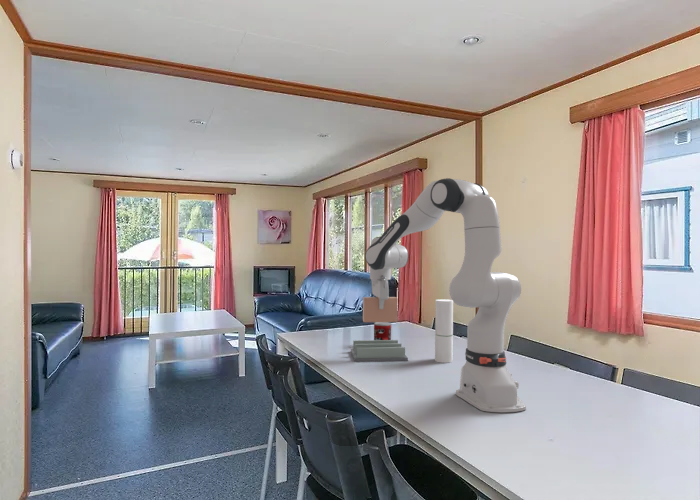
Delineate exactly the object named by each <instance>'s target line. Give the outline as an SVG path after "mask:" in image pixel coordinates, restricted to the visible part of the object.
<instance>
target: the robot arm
mask: <svg viewBox="0 0 700 500" xmlns="http://www.w3.org/2000/svg"><path fill="white" fill-rule="evenodd" d="M497 207H498V206H497V203H496V201H495V200H494V198H493V197H491V196H489V192H488V190H487V189H486V188H485V187H484V185H481V184H479V183H477V182H472V181H471V182H470V181H467V180H464V179H460V178H459V179H458V178H457V179H456V178H448V177H447V178H441V179H439V180H434V181H432V182H430V183H429V184H428V185H427V186H426V187H424V188H423V191H422V192H421V193H420V194H419V195H418V196H417V198H416V199H415V201H414V202H413V203H412V205H411V206H410V207H409V208H408V209H406V211H405V212H403V213H401V214H400V215H399V216H398V217H397V218H395V220H394V221H393V222H392V223H391V224H390V225H389V226H388V227H387V229H386V230H385V231H384V232H383V233H382V234H381V235H380V236H376V237H373V238H372V239H371V244H369V246H368V248H367V249H366V252H365V257H364V258H365V261H366V264H367V265H368V267H369V279H370V280H371V293H372V295H373V296H374V297H378V298H379V309H383V308H384V300H388V298H389V297H390V296H389V294H390V293H389V292H390V291H389V290H390V289H389V286H390V285H389V281H390V280H391V279H392V269H401V268H404V267H405V266H406V265H407V264H408V262H409V257H410V255H409V252H408V249H407V247H406V246H404V245H401V244H399V243H398V242H399V241H400V239H402V238H403V237H405V236H409V235H411V234H414V233H419V232H424V231H427V230H430V229H432V228H433V227H434V226H435V224H437V223H438V222H439V220H440V219H441V217H442V216H443V215H444V213H445V212H451V213H456V214H461V215H462V217H463V229H464V230H463V231H464V258H463V262H462V264H461V267H460V270H459V271H458V273H457V274H456V275H455V276H454V277H453V278H452V280H451V282H450V284H449V289H448V290H449V295H450V298H451V300H453V304H455V305H457V306H460V307H465V308H470V309H471V308H472V309H473V308H474V309H476V308H478V310H477V312H476V314H475V316H474V317H472V319H471V320H470V321H469V322H468V324H467V327H466V329H467V332H466V333H467V334H466V335H467V336H466V339H467V341H466V343H467V344H466V348H465V353H464V355H465V360H466V361H465V363H464V365H463V366H461V369H460V370H461V371H460V380H459V389H456V390H455V395H456V397H457V396H458V397H459V398H460V399H462V400H463V401H465V402H467V403H468V404H470V405H471V406H473V407H475V408H477V409H478V410H479V411H483V412H488V413H490V412H491V413H516V412H521V411H522V412H523V411H526V410H527V406H526V404H525V403H524V401H522V400H521V398H520V397H519V396H518V389H519V386H520V385H519V384H520V383H519V382H518V380H514V379H513V377H512V373H511V372H510V370H508V367H507V357H506V353H505V350H504V340H505V339H504V338H505V336H504V335H505V326H506V321H507V318H508V316H509V313H510V310H511V308H512V306H513V305H514V304H515V302H516V301H518V300H519V298H520V297H521V294H522V284H521V281H519V279H518V277H517V276H515V275H514V274H510V273H507V272H503V271H492V266H493V264H494V261H495V260H496V259H497V257H499V256H500V255H501V252H502V239H501V225H500V216H499V212H498V208H497Z"/></svg>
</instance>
